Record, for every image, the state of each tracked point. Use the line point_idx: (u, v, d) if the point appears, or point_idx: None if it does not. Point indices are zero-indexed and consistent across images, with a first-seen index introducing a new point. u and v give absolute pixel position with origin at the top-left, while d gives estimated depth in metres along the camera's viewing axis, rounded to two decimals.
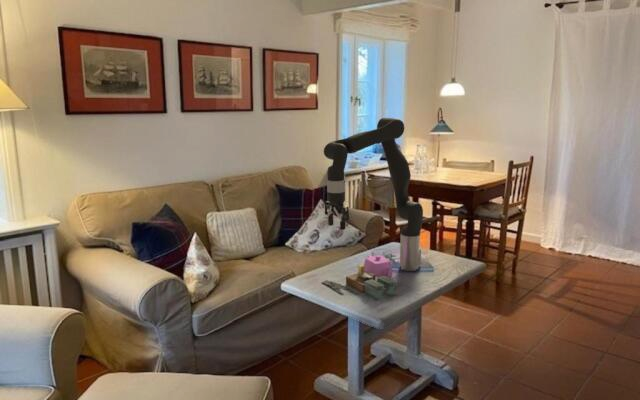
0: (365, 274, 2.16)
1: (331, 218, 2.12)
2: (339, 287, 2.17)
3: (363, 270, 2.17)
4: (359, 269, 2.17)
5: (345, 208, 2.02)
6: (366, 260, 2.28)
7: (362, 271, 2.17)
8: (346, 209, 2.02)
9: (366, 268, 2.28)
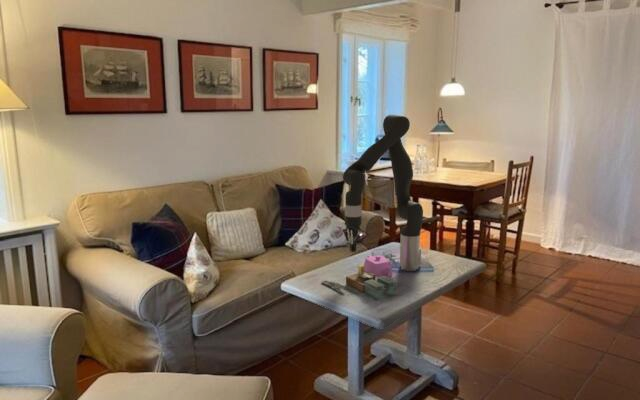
0: (365, 274, 2.16)
1: None
2: (339, 287, 2.17)
3: (363, 270, 2.17)
4: (359, 269, 2.17)
5: (360, 236, 2.14)
6: (366, 260, 2.28)
7: (362, 271, 2.17)
8: (361, 237, 2.15)
9: (366, 268, 2.28)
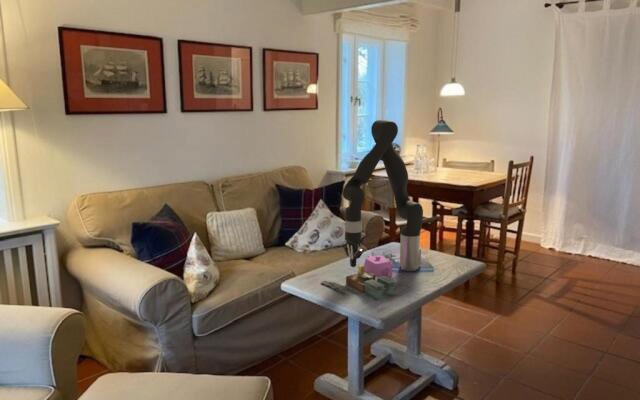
0: (365, 274, 2.16)
1: None
2: (339, 287, 2.17)
3: (363, 270, 2.17)
4: (359, 269, 2.17)
5: (360, 252, 2.16)
6: (366, 260, 2.28)
7: (362, 271, 2.17)
8: (361, 253, 2.16)
9: (366, 268, 2.28)
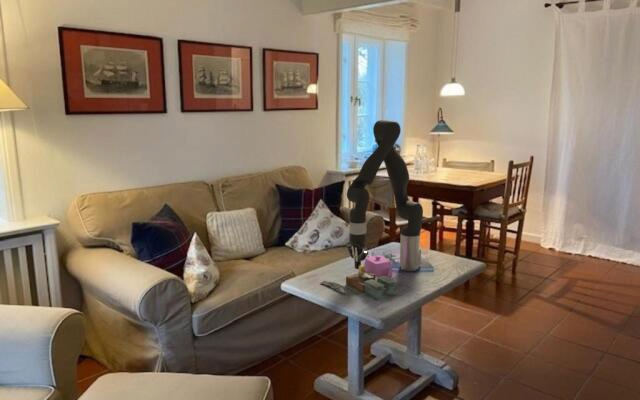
0: (365, 274, 2.15)
1: None
2: (339, 287, 2.17)
3: (363, 271, 2.17)
4: (359, 269, 2.17)
5: (365, 254, 2.13)
6: (366, 260, 2.28)
7: (362, 271, 2.17)
8: (365, 255, 2.14)
9: (366, 268, 2.28)
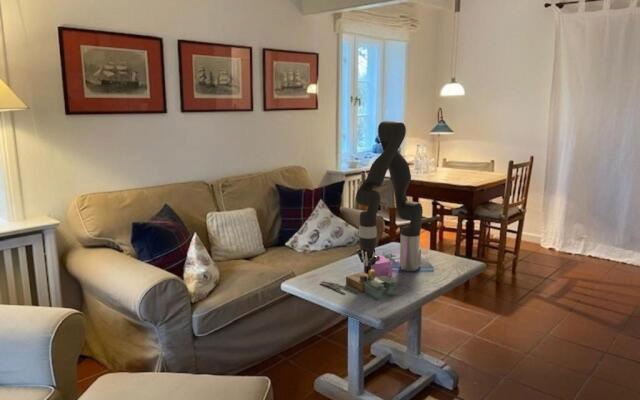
0: (376, 279, 2.10)
1: None
2: (338, 287, 2.16)
3: (373, 275, 2.11)
4: (369, 274, 2.11)
5: (375, 258, 2.07)
6: None
7: (373, 276, 2.11)
8: (376, 259, 2.08)
9: None
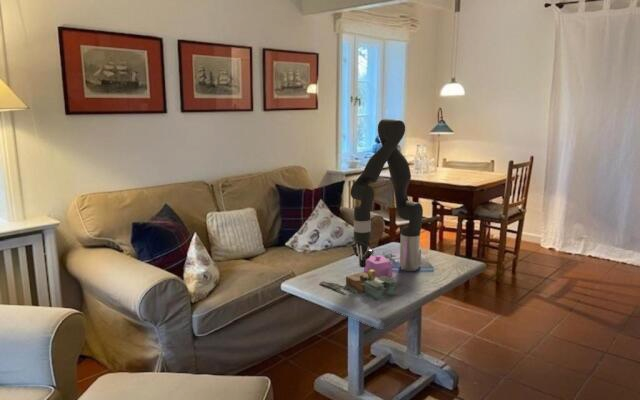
0: (376, 279, 2.10)
1: None
2: (338, 287, 2.16)
3: (374, 275, 2.11)
4: (370, 274, 2.11)
5: (370, 252, 2.10)
6: (366, 260, 2.28)
7: (373, 276, 2.11)
8: (370, 253, 2.11)
9: (366, 268, 2.28)
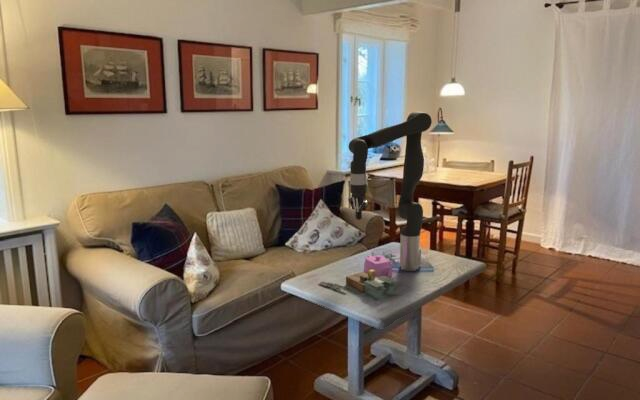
0: (376, 279, 2.10)
1: None
2: (338, 287, 2.16)
3: (374, 275, 2.11)
4: (370, 274, 2.11)
5: (366, 204, 2.21)
6: (366, 260, 2.28)
7: (373, 276, 2.11)
8: (366, 204, 2.22)
9: (366, 268, 2.28)
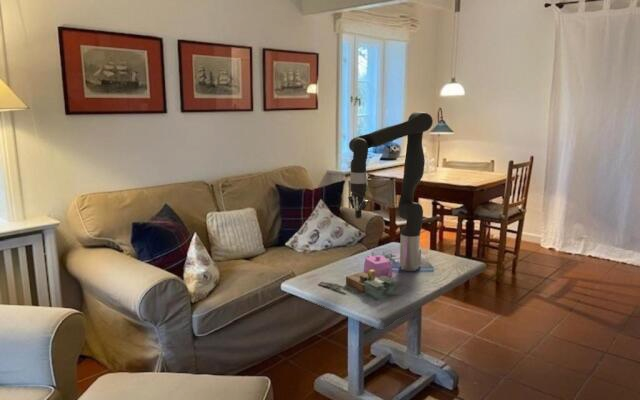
0: (376, 279, 2.10)
1: None
2: (338, 287, 2.16)
3: (374, 275, 2.11)
4: (370, 274, 2.11)
5: (365, 203, 2.22)
6: (366, 260, 2.28)
7: (373, 276, 2.11)
8: (366, 203, 2.22)
9: (366, 268, 2.28)
